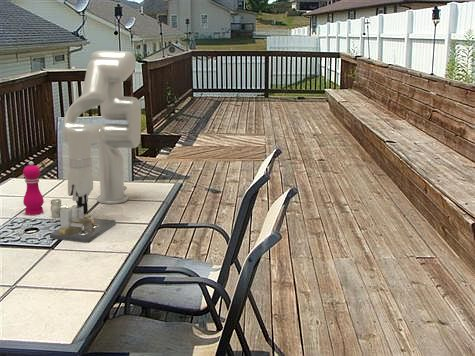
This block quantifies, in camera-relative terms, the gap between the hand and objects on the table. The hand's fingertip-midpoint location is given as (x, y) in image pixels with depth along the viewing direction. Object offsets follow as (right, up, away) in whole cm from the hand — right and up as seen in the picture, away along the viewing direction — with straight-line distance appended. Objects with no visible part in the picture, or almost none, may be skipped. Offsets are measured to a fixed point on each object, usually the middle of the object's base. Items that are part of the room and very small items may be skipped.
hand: (82, 213), depth 204 cm
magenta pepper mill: (-22, -1, +15) cm, 27 cm away
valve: (-9, -2, +11) cm, 14 cm away
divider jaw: (+1, -4, -4) cm, 5 cm away
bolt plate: (+2, -6, -4) cm, 7 cm away
